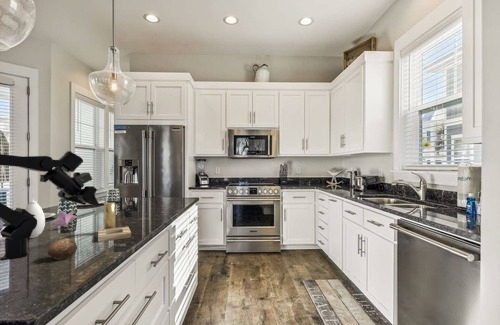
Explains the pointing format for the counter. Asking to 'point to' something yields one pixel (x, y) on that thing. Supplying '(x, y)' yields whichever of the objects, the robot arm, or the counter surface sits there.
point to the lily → (63, 219)
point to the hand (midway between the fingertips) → (91, 204)
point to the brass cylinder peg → (109, 215)
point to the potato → (62, 249)
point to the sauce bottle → (39, 215)
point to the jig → (114, 234)
